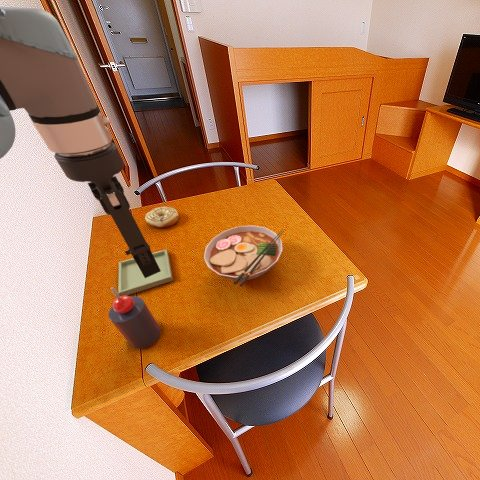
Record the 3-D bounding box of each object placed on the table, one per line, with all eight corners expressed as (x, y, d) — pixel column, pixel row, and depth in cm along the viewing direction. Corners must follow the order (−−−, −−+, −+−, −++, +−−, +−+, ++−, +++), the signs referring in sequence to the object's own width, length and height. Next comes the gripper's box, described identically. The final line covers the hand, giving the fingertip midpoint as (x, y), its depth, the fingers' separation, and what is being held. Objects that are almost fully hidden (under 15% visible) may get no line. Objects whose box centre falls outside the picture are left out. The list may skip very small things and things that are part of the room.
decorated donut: (163, 233, 97) (159, 224, 95) (141, 224, 100) (137, 216, 98) (185, 217, 104) (182, 209, 102) (164, 210, 108) (161, 202, 105)
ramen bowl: (241, 233, 99) (237, 214, 93) (298, 252, 92) (297, 233, 87) (190, 281, 81) (181, 261, 76) (256, 308, 74) (252, 289, 69)
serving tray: (121, 297, 76) (118, 292, 75) (121, 266, 84) (118, 262, 83) (172, 280, 81) (171, 276, 80) (168, 253, 90) (166, 249, 88)
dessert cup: (123, 347, 65) (83, 300, 53) (140, 322, 70) (106, 274, 58) (151, 350, 65) (117, 303, 53) (166, 324, 70) (137, 276, 58)
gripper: (137, 171, 35) (185, 281, 48) (97, 119, 49) (143, 217, 62) (64, 189, 31) (138, 304, 45) (43, 127, 45) (104, 230, 58)
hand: (141, 253), depth 54 cm, fingers open, 13 cm apart
